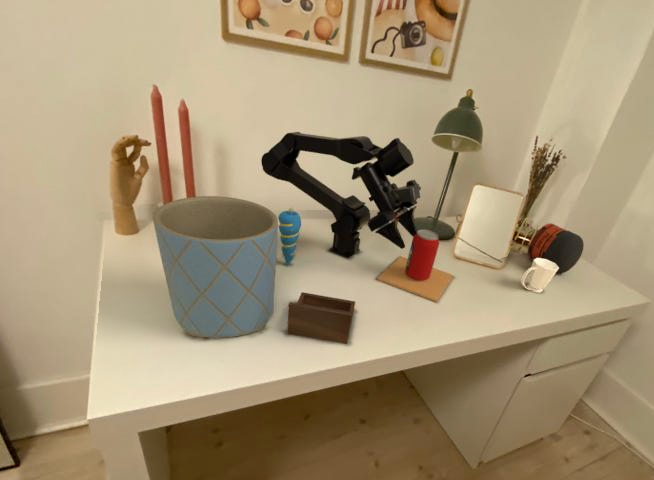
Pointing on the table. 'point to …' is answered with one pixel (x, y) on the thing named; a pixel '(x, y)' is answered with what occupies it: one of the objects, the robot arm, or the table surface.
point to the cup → (539, 274)
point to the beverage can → (422, 255)
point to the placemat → (424, 288)
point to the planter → (218, 263)
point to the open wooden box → (321, 318)
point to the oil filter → (556, 247)
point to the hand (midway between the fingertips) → (410, 242)
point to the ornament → (289, 233)
